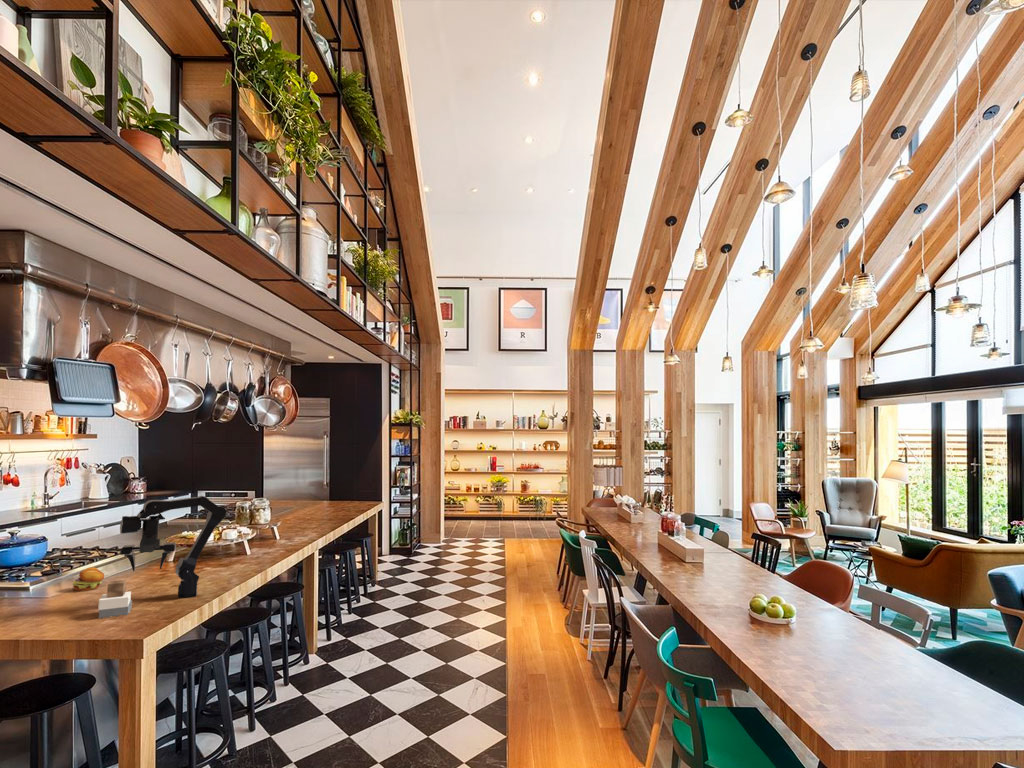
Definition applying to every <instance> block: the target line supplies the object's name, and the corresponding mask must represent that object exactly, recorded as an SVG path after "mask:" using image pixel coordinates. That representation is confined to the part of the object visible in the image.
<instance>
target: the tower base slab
mask: <svg viewBox="0 0 1024 768" xmlns="http://www.w3.org/2000/svg"><path fill="white" fill-rule="evenodd" d="M132 604H133V599H130V603H129V605H128V607H121V608H112V609H103V610H98V619H105V618H104V617H107V618H111V617H110V616H116V617H119V616H118V615H125V616H128V615H129V614H130V612H131V610H132V606H133V605H132ZM128 613H129V614H128Z"/></svg>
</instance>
